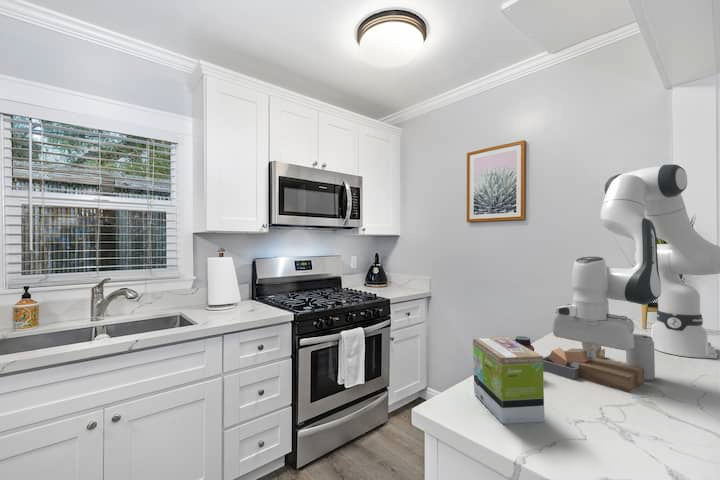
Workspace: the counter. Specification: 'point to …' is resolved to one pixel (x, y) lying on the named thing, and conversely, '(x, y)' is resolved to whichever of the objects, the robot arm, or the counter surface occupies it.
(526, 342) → the supplement bottle
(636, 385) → the board
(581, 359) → the tile
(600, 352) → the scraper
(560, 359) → the peach square block
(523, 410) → the tea box
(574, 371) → the tray
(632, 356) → the beverage can
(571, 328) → the robot arm
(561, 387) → the counter surface
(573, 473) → the counter surface
